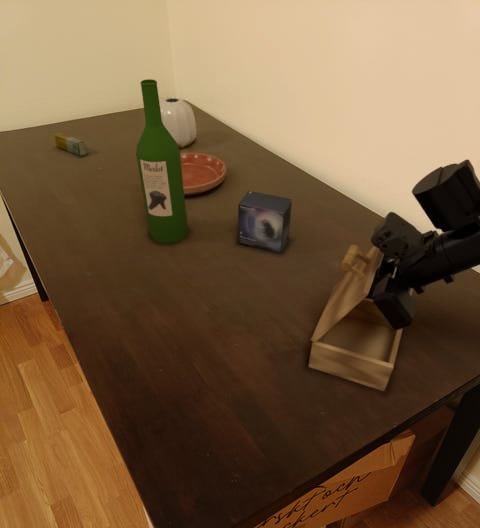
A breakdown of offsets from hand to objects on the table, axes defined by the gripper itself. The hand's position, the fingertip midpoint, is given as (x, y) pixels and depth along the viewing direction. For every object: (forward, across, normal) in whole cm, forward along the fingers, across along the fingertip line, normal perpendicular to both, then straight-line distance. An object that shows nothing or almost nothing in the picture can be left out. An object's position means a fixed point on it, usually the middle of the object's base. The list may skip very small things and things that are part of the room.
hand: (353, 293), depth 67 cm
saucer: (+48, -44, -31) cm, 72 cm away
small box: (+26, -24, -9) cm, 37 cm away
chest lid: (0, 0, -1) cm, 1 cm away
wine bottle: (+41, -19, -24) cm, 52 cm away
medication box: (+79, -48, -61) cm, 111 cm away
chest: (+6, 0, +10) cm, 12 cm away
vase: (+59, -67, -42) cm, 99 cm away
